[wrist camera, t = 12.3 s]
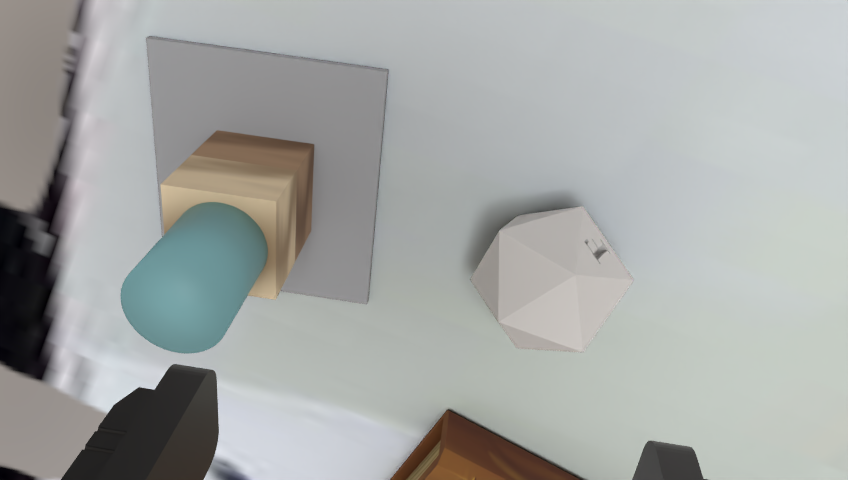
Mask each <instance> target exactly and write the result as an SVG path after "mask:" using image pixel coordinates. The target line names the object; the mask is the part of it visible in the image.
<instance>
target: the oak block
mask: <svg viewBox="0 0 848 480" xmlns="http://www.w3.org/2000/svg"><path fill="white" fill-rule="evenodd" d="M160 186H161V199H162V211H163V224H164V234H165V233H166V232H167V231H168V230H169V229H170V228H171V227H172V226H173V224H174V223H175V222H176V221H177V220H178V219H179V218H180V217H181V215H182V214H183V213H184V212H185V211H187V210H188V209H189V208H191V207H193V206H195V205H197V204H201V203H206V202H220V203H225V204H228V205H231V206H234V207H236V208H238V209H240V210H242V211H243V212H245V213H246V214H248V215H249V216H250V217H251V218H252V219H253V220H254V221H255V222H256V223H257V224H258V225H259V227H260V228H261V230H262V232H263V234H264V236H265V239H266V242H267V246H268V257H267V261H266V264H265V267H264V268H263V270H262V272H261V273H260V275H259V277H258V279H257V280H256V282H255V284H254V285H253V287H252V289H251V290H250V292H249V294H248V296H255V297H261V298H268V299H274V300H276V298H277V296H278V294H279V292H280V290H281V288H282V286H283V284H284V283H285V281H286V279H287V277H288V275H289V273H290V271H291V269H292V267H293V265H294V263H295V237H296V195H297V170H292V169H285V168H278V167H271V166H264V165H257V164H250V163H244V162H237V161H230V160H223V159H216V158H209V157H202V156H195V155H191V156H189V157H188V158H187V159H186V160H185V161H184V162H183V163H182V164H181V165H180V166H179V167H178V168H177V169H176V170H175V171H174V172H173V173H172V174H171V175H170V176H169V177H168V178H167V179H166V180H164V181H163V182H162V183H161V184H160Z"/></svg>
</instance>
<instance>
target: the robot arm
mask: <svg viewBox="0 0 848 480" xmlns="http://www.w3.org/2000/svg"><path fill="white" fill-rule="evenodd" d="M218 433H219V426H218V402H217V379H216V373H215V371H214V370H209V369H203V368H196V367H190V366H184V365H177V364H174V365H172V366H171V367H170V368H169V369H168V370H167V372H166V373H165V375H164V376H163V378H162V379H161V381H160V382H159V384H158V386H157V387H156V389H155V390H152V389H146V388H140V387H139V388H137V389H136V390H134V391H133V392H132V393H130V394H129V395H127V396H126V397H125V398H123V399H122V400H120V401H119V402H118V403H116V404H115V405H114V406H113V407H112V409H111V410H110V411H109V413H108V414H107V416H106V417H105V418H104V420H103V421H102V423H101V424H100V425H99V427H98V431H97V432H94V434H93V435H92V437H91V438H90V439H89V441H88V442H87V444H86V446H85V450H82V451H81V452H80V454H79V455H78V456H77V458H76V459H75V461H74V462H73V463H72V465H71V466H70V468H69V469H68V470H67V472H66V473H65V475H64V476H63V477H62V479H61V480H203V479H204V477H205V475H206V473H207V471H208V469H209V467H210V465H211V463H212V460H213V457H214V454H215V451H216V447H217V441H218ZM632 480H707V479H703V476H702V473H701V470H700V466H699V463H698V460H697V457H696V454H695V452H694V450H693V449H692V448H691V447H688V446H681V445H675V444H669V443H662V442H656V441H648V442H647V443H646V445H645V447H644V449H643V452H642V455H641V457H640V460H639V463H638V466H637V468H636V471H635V474H634V477H633V479H632Z"/></svg>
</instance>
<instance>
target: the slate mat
mask: <svg viewBox="0 0 848 480" xmlns="http://www.w3.org/2000/svg"><path fill="white" fill-rule="evenodd" d="M146 43H147V56H148V68H149V81H150V93H151V105H152V118H153V130H154V142H155V155H156V167H157V179H158V192H159V204H160V217H161V229H162V237H163V236H164V224H163V211H162V199H161V186H160V184H161V183H162V182H163V181H164V180H166V179H167V178H168V177H169V176H170V175H171V174H172V173H173V172H174V171H175V170H176V169H177V168H178V167H179V166H180V165H181V164H182V163H183V162H184V161H185V160H186V159H187V158H188V157H189V156H191V154H193V153H194V152H195V151H196V150H197V149H198V148H199V147H200V146H201V145H202V144H203V143H204V142H205V141H206V140H207V139H208V138H209V137H210V136H211V135H212V134H213V133H214V132H215V131H216V130H220V131H227V132H234V133H241V134H248V135H255V136H261V137H268V138H275V139H282V140H289V141H296V142H303V143H310V144H314V167H313V195H312V222H311V232H310V234H309V236H308V238H307V240H306V242H305V244H304V246H303V248H302V250H301V252H300V253H299V255H298V257H297V259H296V261H295V263H294V265H293V267H292V269H291V271H290V273H289V275H288V277H287V279H286V281H285V283H284V284H283V286H282V288H281V290H280V291H283V292H290V293H297V294H303V295H310V296H316V297H323V298H329V299H336V300H342V301H349V302H355V303H362V304H367V303H368V299H369V287H370V276H371V264H372V253H373V241H374V230H375V218H376V207H377V195H378V184H379V172H380V161H381V149H382V138H383V126H384V115H385V103H386V92H387V80H388V69H381V68H374V67H367V66H360V65H353V64H346V63H338V62H331V61H324V60H317V59H310V58H303V57H296V56H288V55H281V54H274V53H267V52H260V51H253V50H246V49H238V48H231V47H224V46H217V45H210V44H203V43H195V42H188V41H181V40H174V39H167V38H160V37H153V36H149V37H147V38H146Z"/></svg>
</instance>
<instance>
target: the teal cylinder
mask: <svg viewBox="0 0 848 480" xmlns="http://www.w3.org/2000/svg"><path fill="white" fill-rule="evenodd" d="M267 257H268V246H267V242H266V239H265V236H264V234H263V232H262V230H261V228H260V227H259V225H258V224H257V223H256V222H255V221H254V220H253V219H252V218H251V217H250V216H249V215H248V214H246V213H245V212H243V211H242V210H240V209H238V208H236V207H234V206H231V205H228V204H225V203H220V202H206V203H201V204H197V205H195V206H193V207H191V208H189V209H188V210H187V211H185V212H184V213H183V214H182V215H181V217H180V218H179V219H178V220H177V221H176V222H175V223H174V224H173V226H172V227H171V228H170V229H169V230H168V231H167V232H166V233H165V234H164V236H163V237H162V238H161V239H160V240H159V241H158V242H157V243H156V245H155V246H154V247H153V248H152V249H151V250H150V251H149V252H148V253H147V255H146V256H145V257H144V258H143V259H142V260H141V261H140V262H139V263H138V265H137V266H136V267H135V268H134V269H133V270H132V271H131V272H130V274H129V275H128V276H127V277H126V279H125V281H124V283H123V285H122V289H121V304H122V308H123V311H124V313H125V315H126V318H127V319H128V321H129V322H130V324H131V325H132V326H133V328H134V329H135V330H136V331H137V332H138V333H139V334H140V335H141V336H143V337H144V338H145V339H146V340H148V341H149V342H151V343H153V344H154V345H156V346H158V347H161V348H163V349H166V350H169V351H173V352H178V353H198V352H202V351H205V350H207V349H210V348H211V347H213V346H215V345H216V344H217V343H218V342H219V341H220V340H221V339H222V338H223V336H224V335H225V333H226V331H227V330H228V328H229V326H230V324H231V323H232V321H233V319H234V318H235V316H236V314H237V313H238V311H239V309H240V307H241V306H242V304H243V302H244V301H245V299H246V297H247V296H248V294H249V292H250V290H251V289H252V287H253V285H254V284H255V282H256V280H257V279H258V277H259V275H260V273H261V272H262V270H263V268H264V267H265V264H266V261H267Z"/></svg>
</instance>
